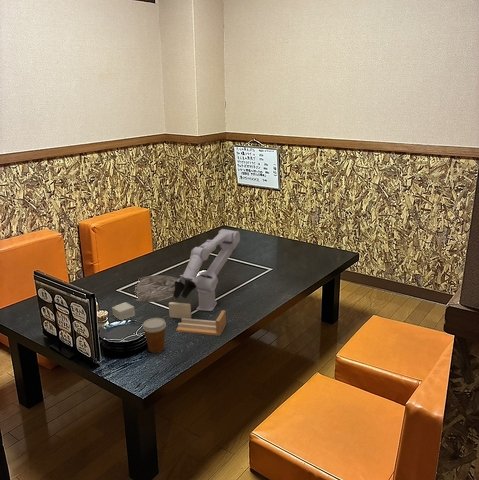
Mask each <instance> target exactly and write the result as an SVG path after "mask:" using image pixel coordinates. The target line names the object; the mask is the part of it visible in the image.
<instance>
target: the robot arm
mask: <svg viewBox="0 0 479 480" xmlns="http://www.w3.org/2000/svg"><path fill="white" fill-rule="evenodd" d="M217 233H218V234H217V235H216V236H215V237H214V238H213V239H206V241H205V242H203V243H202V244H201V245H199V246H195V247H194V248H192V249H191V251H190V257H189V260H188V263H187V265H186V268H185V270H184V271H183V274H179V277H180V278H178V281H175V290H174V295H173V296H172V297H173V298H175V299H178V298H179V297H180V296H181V297H182V298H184V299H187V297H188V296H189V295H190V294H191V293H192V292H193V290H194V289H196V291H197V293H198V295H197V296H198V306H197V307H196V311H205V312H212V311H213V310H214V309H215V307H216V305H217V304H218V302H217V301H216V291H215V290H216V288H217V284H218V283H219V279H218V277H217V276H218V275H219V273H220V271H221V270H222V269H223V267H224V265H225V264H226V263H227V261H228V259H229V257H230V256H231V255H232V253H233V251H234V250H236V247H237V246H238V244H239V243H240V242H241V241H240V240H241V234H240V231H238V230H232V229H226V228H221V229H220V230H218V232H217ZM217 246H219V247H220V248H221V249H220V251H219V252H218V254H217V255H216V256H215V258H214V259H213V261H212V262H211V264H210V265H209V267H208V268H207V270H204V271H202V272H200V273H199V271H200V270H201V266H202V265H203V262H204V261H207V260H208V258H209V257H210V255H211V254H212V253H213V252H214V251H215V250H216V249H217ZM198 273H199V275H198ZM184 284H185V285H184Z"/></svg>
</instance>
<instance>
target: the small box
mask: <svg viewBox="0 0 479 480" xmlns="http://www.w3.org/2000/svg"><path fill="white" fill-rule="evenodd" d="M111 310H112V316H113V315H114V316H115V317H116V318H118V319H119V320H124V319H127V318H129V319H131V318H130V317H132V318H134V317H136V313H135V312H136V311H135V306H134V305H132V304H130V303H128V302H127V301H126V302H122V303H120V304H117V305H114V306H112V307H111ZM133 316H134V317H133ZM115 317H114V318H115ZM116 318H115V319H116ZM118 319H117V320H118ZM119 320H118V321H119ZM127 320H128V319H127ZM124 321H125V320H124Z"/></svg>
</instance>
